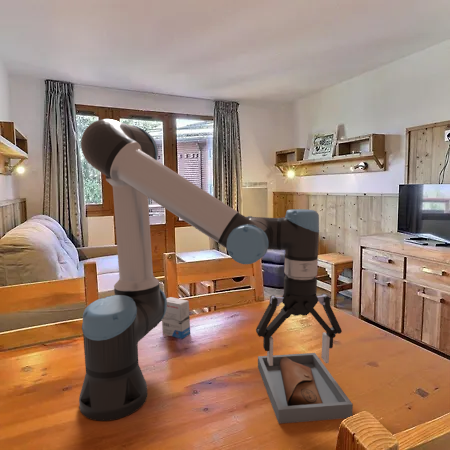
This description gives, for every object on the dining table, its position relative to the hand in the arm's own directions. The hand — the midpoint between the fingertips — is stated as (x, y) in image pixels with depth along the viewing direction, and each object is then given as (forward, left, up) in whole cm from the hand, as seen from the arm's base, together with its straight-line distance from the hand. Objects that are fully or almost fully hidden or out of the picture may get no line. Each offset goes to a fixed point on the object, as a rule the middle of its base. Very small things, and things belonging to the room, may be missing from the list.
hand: (297, 361), depth 86 cm
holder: (0, 0, -7) cm, 7 cm away
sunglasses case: (0, -1, -7) cm, 7 cm away
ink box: (-31, +36, -7) cm, 48 cm away
